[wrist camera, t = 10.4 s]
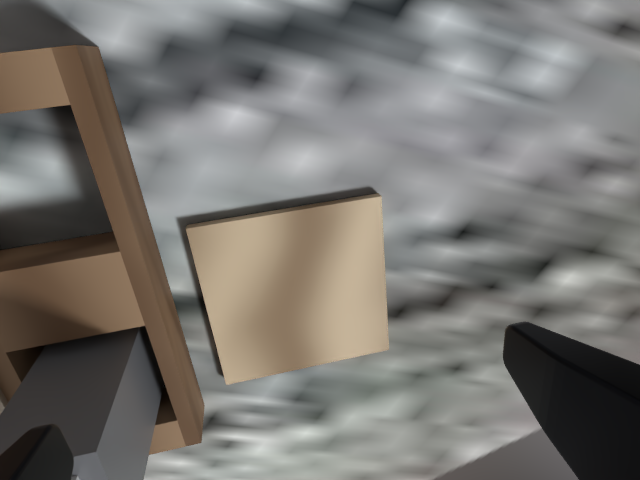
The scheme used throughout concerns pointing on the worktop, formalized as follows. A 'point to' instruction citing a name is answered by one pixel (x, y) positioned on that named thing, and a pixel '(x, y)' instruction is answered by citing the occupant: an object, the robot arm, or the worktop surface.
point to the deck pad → (294, 285)
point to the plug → (93, 402)
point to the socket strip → (92, 249)
